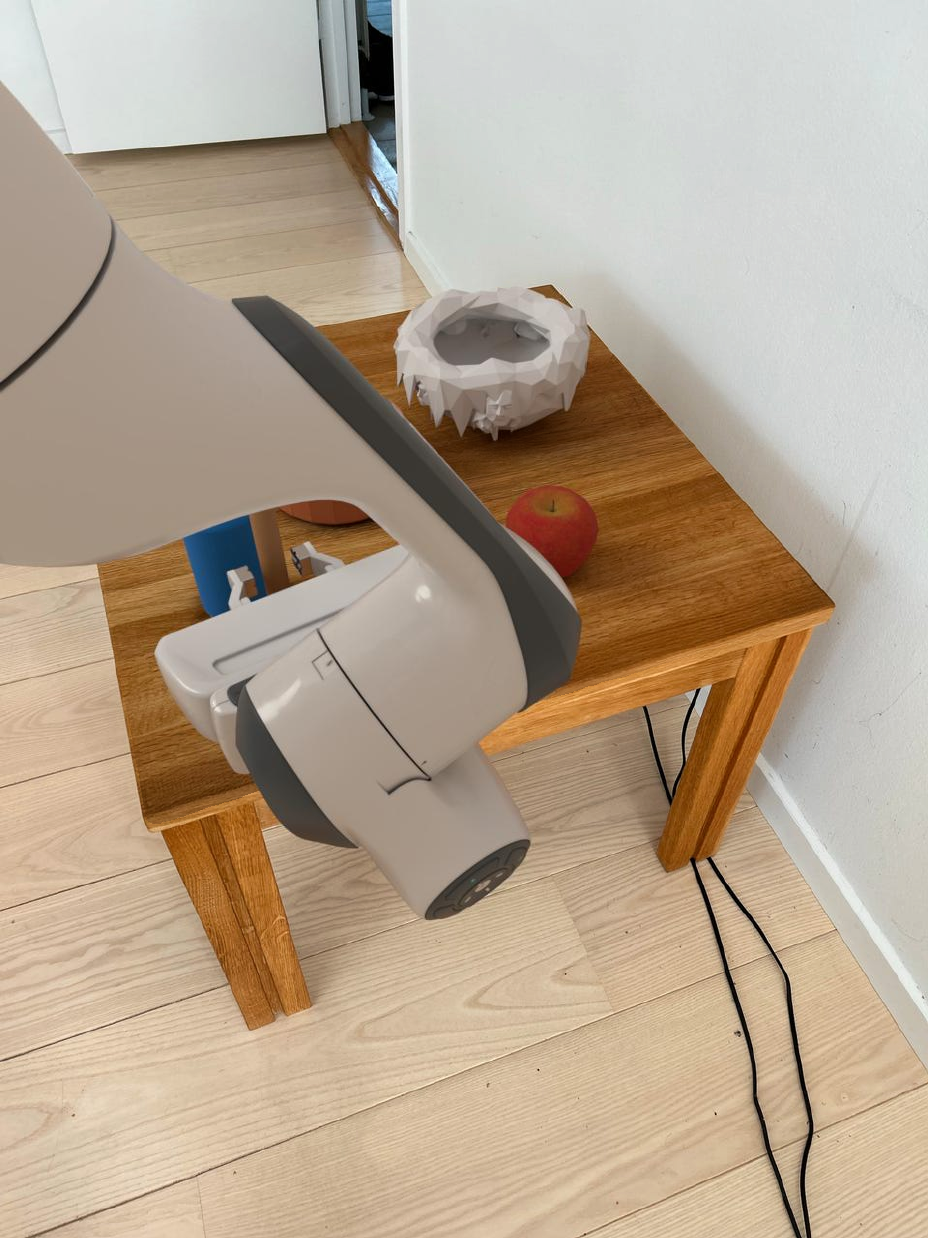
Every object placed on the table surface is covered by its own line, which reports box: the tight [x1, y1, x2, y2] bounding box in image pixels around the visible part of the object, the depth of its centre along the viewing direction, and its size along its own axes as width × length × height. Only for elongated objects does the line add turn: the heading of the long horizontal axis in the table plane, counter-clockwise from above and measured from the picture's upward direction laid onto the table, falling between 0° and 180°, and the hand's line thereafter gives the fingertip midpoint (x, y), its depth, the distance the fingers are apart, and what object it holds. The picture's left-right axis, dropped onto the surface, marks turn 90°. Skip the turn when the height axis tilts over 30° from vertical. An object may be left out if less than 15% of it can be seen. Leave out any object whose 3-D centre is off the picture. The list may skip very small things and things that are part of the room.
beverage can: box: [182, 515, 267, 618], centre depth 76 cm, size 6×6×12 cm
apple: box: [505, 485, 599, 579], centre depth 80 cm, size 8×8×8 cm
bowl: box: [393, 286, 592, 442], centre depth 97 cm, size 21×20×10 cm
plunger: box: [249, 507, 292, 596], centre depth 67 cm, size 6×6×20 cm
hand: (269, 562), depth 67 cm, fingers open, 3 cm apart
